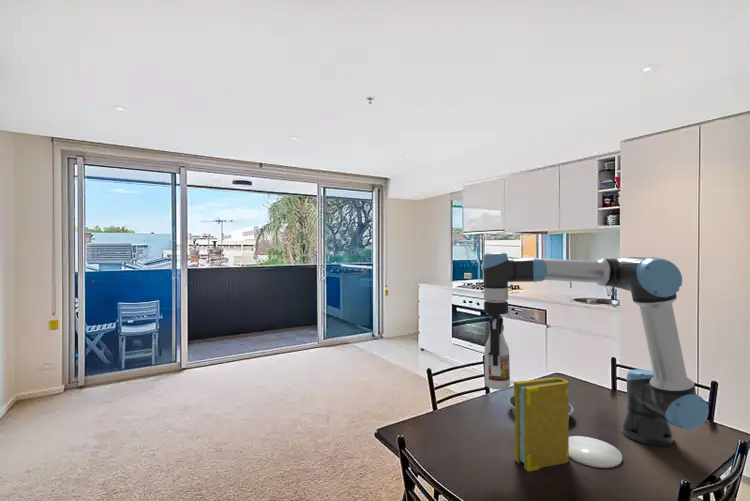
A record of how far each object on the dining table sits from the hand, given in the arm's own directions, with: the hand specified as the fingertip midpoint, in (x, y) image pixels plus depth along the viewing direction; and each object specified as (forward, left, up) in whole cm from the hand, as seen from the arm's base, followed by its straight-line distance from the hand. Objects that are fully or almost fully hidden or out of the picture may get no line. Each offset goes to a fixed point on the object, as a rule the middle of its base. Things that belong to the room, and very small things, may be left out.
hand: (497, 371), depth 126 cm
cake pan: (-13, -40, -28) cm, 51 cm away
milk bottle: (0, 0, -5) cm, 5 cm away
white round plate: (-28, -14, -28) cm, 42 cm away
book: (-14, -3, -28) cm, 31 cm away
